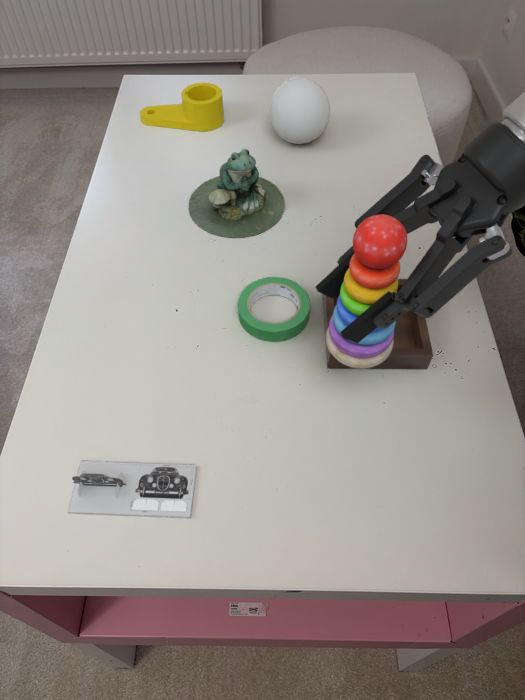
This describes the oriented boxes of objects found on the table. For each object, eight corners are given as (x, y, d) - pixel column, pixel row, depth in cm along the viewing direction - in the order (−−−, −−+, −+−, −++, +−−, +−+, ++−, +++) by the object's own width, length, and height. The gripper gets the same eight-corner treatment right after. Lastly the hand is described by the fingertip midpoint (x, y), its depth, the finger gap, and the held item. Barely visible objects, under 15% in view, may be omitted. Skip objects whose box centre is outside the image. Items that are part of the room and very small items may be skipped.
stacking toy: (402, 335, 63) (446, 215, 47) (372, 383, 59) (408, 270, 44) (345, 307, 65) (368, 185, 50) (312, 351, 62) (327, 234, 46)
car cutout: (68, 513, 63) (56, 501, 60) (81, 462, 67) (71, 447, 64) (190, 518, 63) (185, 506, 59) (196, 466, 67) (192, 452, 63)
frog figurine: (214, 250, 89) (207, 195, 80) (173, 192, 99) (163, 136, 89) (302, 217, 94) (306, 161, 85) (256, 164, 103) (254, 108, 94)
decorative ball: (303, 116, 113) (306, 59, 103) (339, 142, 107) (346, 85, 98) (258, 135, 109) (257, 78, 99) (293, 163, 103) (295, 105, 94)
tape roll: (229, 298, 83) (227, 287, 81) (292, 279, 85) (293, 268, 83) (253, 351, 77) (252, 340, 75) (320, 329, 79) (322, 318, 77)
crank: (225, 109, 115) (223, 83, 110) (222, 131, 110) (220, 104, 105) (145, 108, 115) (139, 81, 110) (138, 130, 111) (132, 103, 106)
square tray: (426, 369, 75) (433, 355, 72) (327, 368, 75) (329, 354, 72) (412, 294, 83) (417, 278, 80) (322, 293, 84) (324, 278, 81)
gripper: (609, 233, 43) (394, 391, 54) (481, 114, 53) (321, 266, 64) (588, 196, 38) (354, 378, 48) (451, 71, 48) (282, 244, 59)
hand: (336, 314), depth 56 cm, fingers closed on stacking toy, 6 cm apart
